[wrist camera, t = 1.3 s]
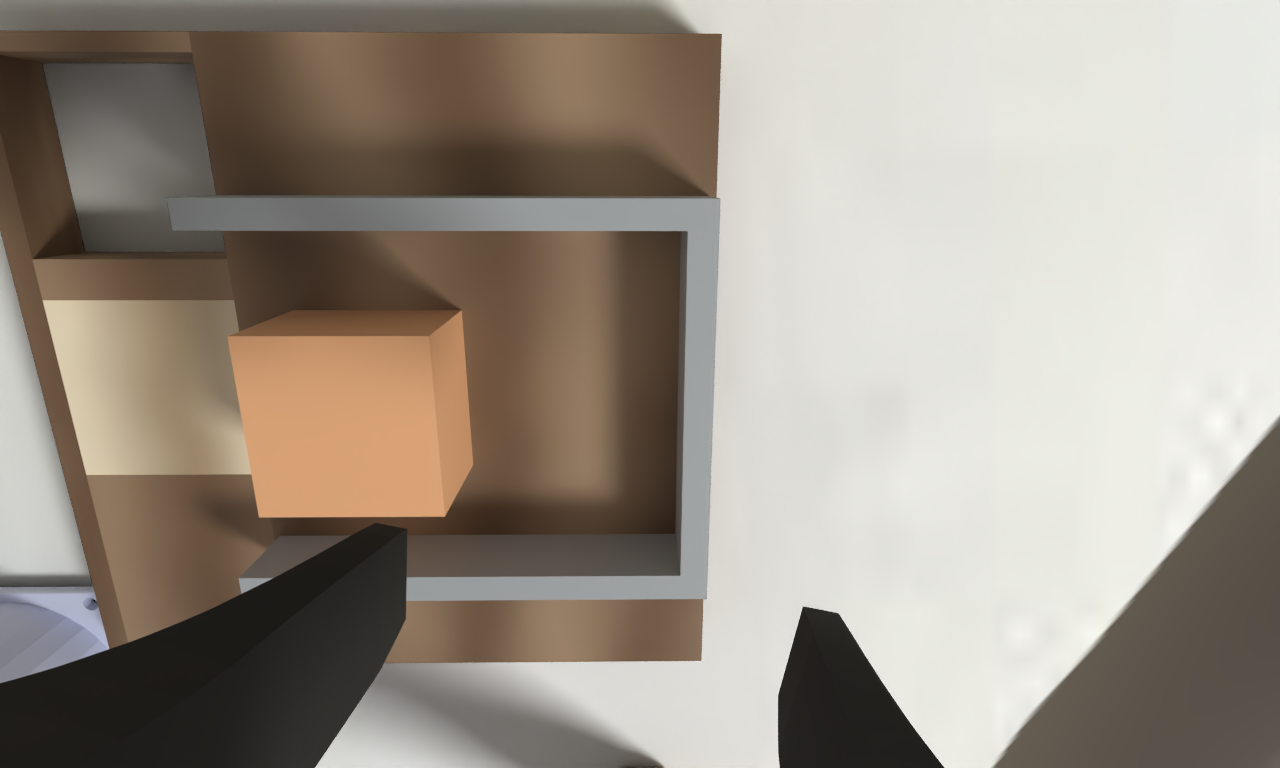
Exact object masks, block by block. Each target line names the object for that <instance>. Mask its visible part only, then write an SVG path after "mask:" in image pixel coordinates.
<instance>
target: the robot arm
mask: <svg viewBox="0 0 1280 768" xmlns="http://www.w3.org/2000/svg"><path fill="white" fill-rule="evenodd" d="M406 586H407V529H405V528H400V527H395V526H389V525H384V524H379V523H374V524H372V525H370V526H368V527H366V528H364V529H362V530H360V531H358V532H357V533H355V534H353V535H351V536H349V537H348V538H346V539H344V540H342V541H340V542H339V543H337V544H335V545H333V546H331V547H330V548H328V549H326V550H324V551H322V552H321V553H319V554H317V555H315V556H313V557H312V558H310V559H308V560H306V561H304V562H302V563H300V564H299V565H297V566H295V567H293V568H291V569H289V570H288V571H286V572H284V573H282V574H280V575H278V576H276V577H275V578H273V579H271V580H269V581H267V582H265V583H263V584H260V585H258V586H256V587H254V588H252V589H250V590H248V591H246V592H244V593H242V594H240V595H238V596H236V597H234V598H232V599H230V600H228V601H226V602H224V603H222V604H220V605H218V606H216V607H214V608H211V609H209V610H207V611H205V612H203V613H200V614H198V615H196V616H193V617H191V618H189V619H187V620H184V621H182V622H179V623H177V624H174V625H172V626H170V627H167V628H165V629H162V630H160V631H157V632H155V633H152V634H150V635H147V636H145V637H142V638H139V639H137V640H134V641H131V642H129V643H126V644H123V645H120V646H117V647H114V648H111V649H109V646H108V642H107V638H106V634H105V630H104V626H103V623H102V619H101V615H100V611H99V607H98V604H97V603H95V602H94V601H93V600H92V599H94V600H95V601H96V602H97V600H96V596H95V592H94V588H93V587H0V768H315V767H316V765H317V764H318V762H319V761H320V759H321V758H322V756H323V755H324V753H325V752H326V750H327V749H328V747H329V746H330V744H331V743H332V742H333V740H334V739H335V737H336V736H337V734H338V733H339V731H340V730H341V728H342V727H343V725H344V724H345V722H346V721H347V719H348V718H349V716H350V715H351V713H352V712H353V710H354V709H355V707H356V706H357V704H358V703H359V701H360V700H361V698H362V697H363V695H364V694H365V692H366V691H367V689H368V688H369V686H370V685H371V683H372V682H373V680H374V679H375V677H376V676H377V674H378V673H379V671H380V670H381V668H382V666H383V664H384V662H385V660H386V658H387V656H388V654H389V652H390V650H391V649H392V647H393V645H394V643H395V640H396V638H397V636H398V634H399V632H400V630H401V628H402V626H403V624H404V622H405V620H406ZM778 752H779V762H780V768H944V767H943V766H942V764H941V763H940V762H939V760H938V759H937V758H936V757H935V755H934V754H933V753H932V751H931V750H930V749H929V747H928V746H927V745H926V744H925V742H924V741H923V740H922V738H921V737H920V736H919V734H918V733H917V732H916V730H915V729H914V728H913V726H912V725H911V723H910V722H909V721H908V719H907V718H906V716H905V715H904V713H903V712H902V711H901V709H900V708H899V706H898V705H897V703H896V702H895V700H894V699H893V698H892V696H891V695H890V693H889V692H888V690H887V689H886V687H885V686H884V684H883V683H882V681H881V680H880V678H879V677H878V675H877V674H876V672H875V670H874V669H873V667H872V666H871V664H870V663H869V661H868V659H867V658H866V656H865V655H864V653H863V652H862V650H861V648H860V647H859V645H858V644H857V642H856V640H855V639H854V637H853V636H852V634H851V632H850V631H849V629H848V628H847V626H846V624H845V623H844V621H843V620H842V618H841V617H840V615H839V614H838V613H834V612H829V611H824V610H819V609H814V608H808V607H803V609H802V612H801V616H800V620H799V623H798V627H797V630H796V634H795V637H794V641H793V645H792V648H791V652H790V655H789V659H788V663H787V666H786V670H785V673H784V677H783V680H782V684H781V688H780V691H779V695H778Z"/></svg>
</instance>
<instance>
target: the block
mask: <svg viewBox="0 0 1280 768" xmlns="http://www.w3.org/2000/svg"><path fill="white" fill-rule="evenodd" d="M227 338H228V343H229V349H230V355H231V361H232V366H233V372H234V378H235V383H236V389H237V395H238V401H239V406H240V412H241V418H242V423H243V429H244V435H245V441H246V446H247V452H248V458H249V463H250V469H251V475H252V481H253V486H254V492H255V498H256V503H257V509H258V515H259V518H260V517H445V516H446V514H447V512H448V510H449V508H450V506H451V505H452V503H453V501H454V499H455V497H456V495H457V494H458V492H459V490H460V488H461V486H462V484H463V483H464V481H465V479H466V477H467V475H468V473H469V472H470V470H471V468H472V466H473V455H472V442H471V428H470V415H469V401H468V388H467V374H466V360H465V347H464V333H463V320H462V310H293V311H290V312H288V313H285V314H283V315H280V316H277V317H275V318H272V319H270V320H267V321H265V322H262V323H260V324H257V325H255V326H252V327H250V328H247V329H245V330H242V331H240V332H237V333H235V334H232V335H229V336H227Z"/></svg>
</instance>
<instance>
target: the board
mask: <svg viewBox="0 0 1280 768" xmlns="http://www.w3.org/2000/svg"><path fill="white" fill-rule="evenodd" d="M721 39H722V34H639V33H419V32H199V31H0V231H1V235H2V239H3V242H4V246H5V250H6V254H7V258H8V262H9V265H10V269H11V273H12V277H13V281H14V285H15V288H16V292H17V296H18V300H19V304H20V308H21V312H22V315H23V319H24V323H25V327H26V331H27V335H28V338H29V342H30V346H31V350H32V354H33V358H34V361H35V365H36V369H37V373H38V377H39V381H40V384H41V388H42V392H43V396H44V400H45V404H46V408H47V411H48V415H49V419H50V423H51V427H52V431H53V434H54V438H55V442H56V446H57V450H58V454H59V457H60V461H61V465H62V469H63V473H64V477H65V481H66V484H67V488H68V492H69V496H70V500H71V504H72V507H73V511H74V515H75V519H76V523H77V527H78V530H79V534H80V538H81V542H82V546H83V550H84V554H85V557H86V561H87V565H88V569H89V573H90V577H91V580H92V584H93V588H94V592H95V596H96V600H97V603H98V607H99V611H100V615H101V619H102V623H103V626H104V630H105V634H106V638H107V642H108V646H109V649H111V648H114V647H117V646H120V645H123V644H126V643H129V642H131V641H134V640H137V639H139V638H142V637H145V636H147V635H150V634H152V633H155V632H157V631H160V630H162V629H165V628H167V627H170V626H172V625H174V624H177V623H179V622H182V621H184V620H187V619H189V618H191V617H193V616H196V615H198V614H200V613H203V612H205V611H207V610H209V609H211V608H214V607H216V606H218V605H220V604H222V603H224V602H226V601H228V600H230V599H232V598H234V597H236V596H238V595H240V594H241V589H240V583H239V577H240V576H241V575H242V574H243V573H244V572H245V571H246V570H247V569H248V568H249V567H250V566H251V565H252V564H253V563H254V562H255V561H256V560H257V559H258V558H259V557H260V556H261V555H262V554H263V553H264V552H265V551H266V550H267V549H268V548H269V547H270V546H271V545H272V544H273V543H274V541H275V540H276V539H277V538H278V537H279V536H348V535H353V534H355V533H357V532H358V531H360V530H362V529H364V528H366V527H368V526H370V525H372V524H374V523H379V524H384V525H389V526H395V527H400V528H405V529H407V535H549V534H675V519H676V465H677V411H678V357H679V302H680V248H681V231H222V233H223V239H224V245H225V250H226V252H85V251H84V247H83V242H82V238H81V234H80V229H79V225H78V220H77V216H76V212H75V207H74V203H73V199H72V194H71V190H70V185H69V181H68V177H67V172H66V168H65V163H64V159H63V155H62V150H61V146H60V141H59V137H58V133H57V128H56V124H55V119H54V115H53V111H52V106H51V102H50V98H49V93H48V89H47V84H46V80H45V76H44V71H43V67H42V63H159V64H194V68H195V73H196V79H197V85H198V91H199V97H200V103H201V109H202V115H203V121H204V127H205V132H206V138H207V144H208V150H209V156H210V162H211V168H212V174H213V180H214V186H215V191H216V196H217V195H408V196H712V197H716V192H717V162H718V131H719V100H720V69H721ZM293 310H462V320H463V333H464V347H465V360H466V374H467V388H468V401H469V415H470V428H471V442H472V455H473V466H472V468H471V470H470V472H469V473H468V475H467V477H466V479H465V481H464V483H463V484H462V486H461V488H460V490H459V492H458V494H457V495H456V497H455V499H454V501H453V503H452V505H451V506H450V508H449V510H448V512H447V514H446V516H445V517H260V518H259V515H258V509H257V503H256V498H255V492H254V486H253V481H252V475H251V469H250V463H249V458H248V452H247V446H246V441H245V435H244V429H243V423H242V418H241V412H240V406H239V401H238V395H237V389H236V383H235V378H234V372H233V366H232V361H231V355H230V349H229V343H228V338H227V336H229V335H232V334H235V333H237V332H240V331H242V330H245V329H247V328H250V327H252V326H255V325H257V324H260V323H262V322H265V321H267V320H270V319H272V318H275V317H277V316H280V315H283V314H285V313H288V312H290V311H293ZM702 622H703V599H629V600H468V601H406V620H405V622H404V624H403V626H402V628H401V630H400V632H399V634H398V636H397V638H396V640H395V643H394V645H393V647H392V649H391V650H390V652H389V654H388V656H387V658H386V660H385V662H384V663H462V662H598V661H701V653H702Z"/></svg>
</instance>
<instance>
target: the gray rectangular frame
mask: <svg viewBox="0 0 1280 768" xmlns="http://www.w3.org/2000/svg"><path fill="white" fill-rule="evenodd" d="M166 199H167V204H168V209H169V215H170V220H171V225H172V230H173V231H681V248H680V302H679V357H678V411H677V465H676V519H675V534H549V535H407V586H406V601H468V600H629V599H707V573H708V544H709V515H710V486H711V456H712V427H713V398H714V369H715V339H716V310H717V281H718V251H719V222H720V198H716V197H712V196H408V195H217V196H195V197H173V198H166ZM349 536H351V535H348V536H279V537H278V538H277V539H276V540H275V541H274V543H273V544H272V545H271V546H270V547H269V548H268V549H267V550H266V551H265V552H264V553H263V554H262V555H261V556H260V557H259V558H258V559H257V560H256V561H255V562H254V563H253V564H252V565H251V566H250V567H249V568H248V569H247V570H246V571H245V572H244V573H243V574H242V575H241V576H240V577H239V583H240V589H241V594H242V593H244V592H246V591H248V590H250V589H252V588H254V587H256V586H258V585H260V584H263V583H265V582H267V581H269V580H271V579H273V578H275V577H276V576H278V575H280V574H282V573H284V572H286V571H288V570H289V569H291V568H293V567H295V566H297V565H299V564H300V563H302V562H304V561H306V560H308V559H310V558H312V557H313V556H315V555H317V554H319V553H321V552H322V551H324V550H326V549H328V548H330V547H331V546H333V545H335V544H337V543H339V542H340V541H342V540H344V539H346V538H348V537H349Z"/></svg>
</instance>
